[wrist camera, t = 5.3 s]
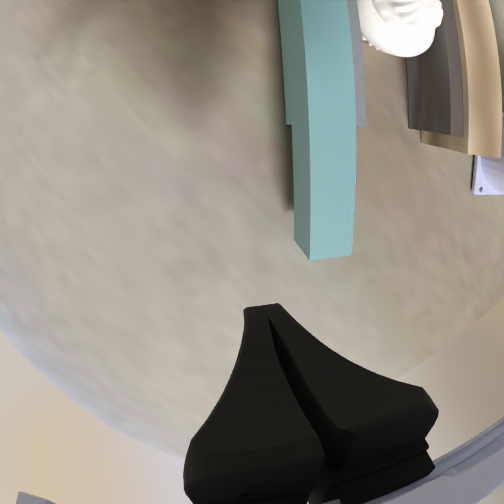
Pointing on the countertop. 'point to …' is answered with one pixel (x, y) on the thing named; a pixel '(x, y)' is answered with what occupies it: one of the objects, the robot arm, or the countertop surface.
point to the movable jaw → (323, 118)
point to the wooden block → (459, 82)
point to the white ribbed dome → (399, 25)
